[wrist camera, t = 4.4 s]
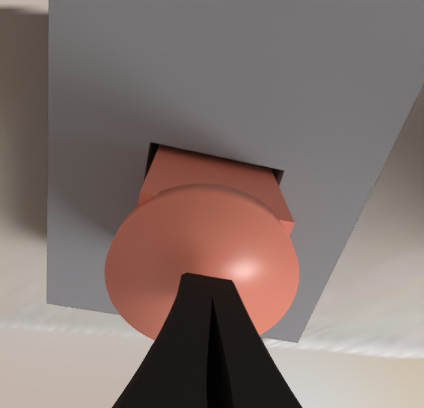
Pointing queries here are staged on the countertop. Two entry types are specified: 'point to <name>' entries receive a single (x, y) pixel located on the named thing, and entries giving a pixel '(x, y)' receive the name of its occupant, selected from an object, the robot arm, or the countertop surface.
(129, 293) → the red plug
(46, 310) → the countertop surface
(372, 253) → the countertop surface
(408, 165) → the countertop surface
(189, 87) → the plug panel
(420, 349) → the countertop surface
